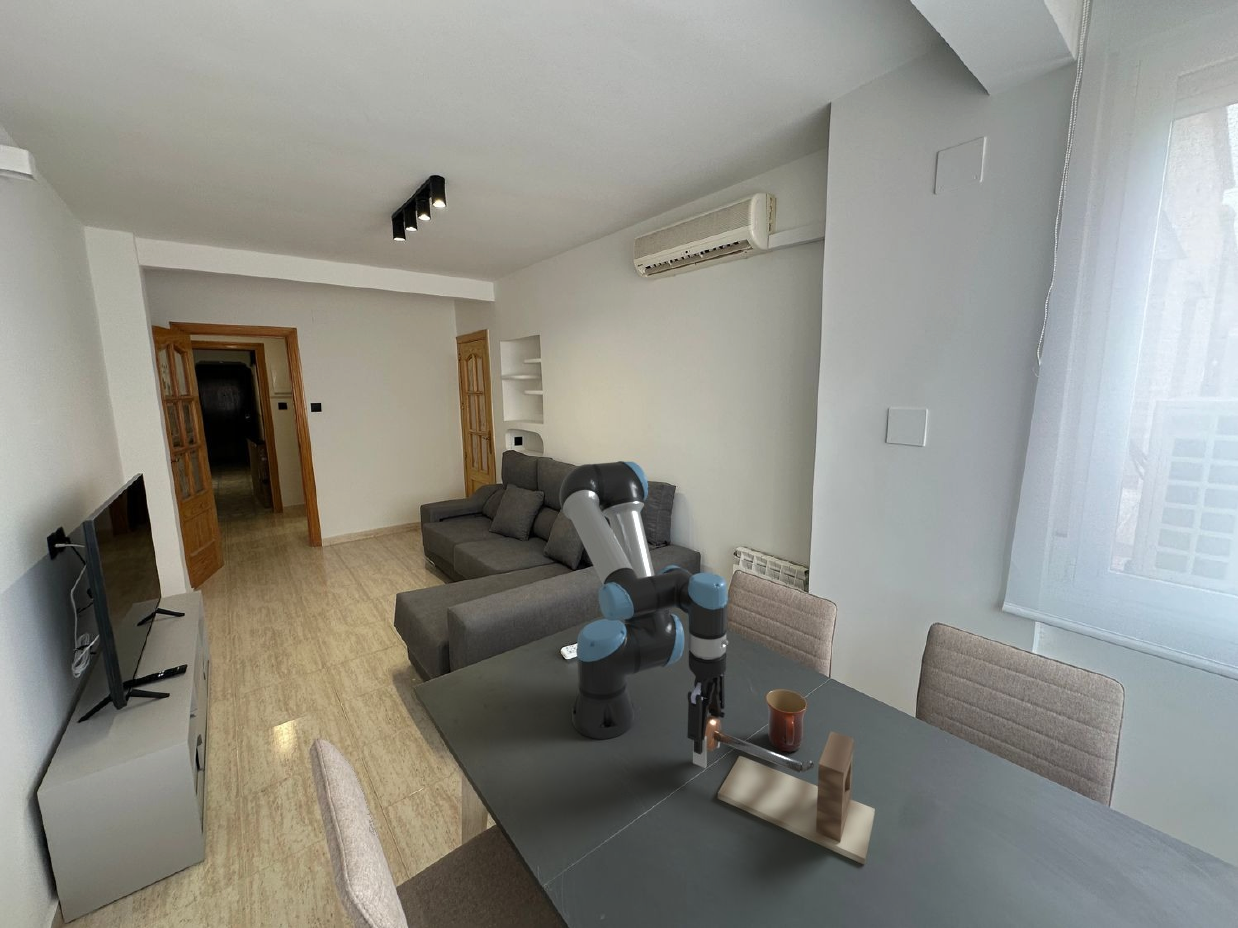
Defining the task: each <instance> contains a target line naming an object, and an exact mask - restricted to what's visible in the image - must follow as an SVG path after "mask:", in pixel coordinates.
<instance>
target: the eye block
mask: <svg viewBox="0 0 1238 928" xmlns="http://www.w3.org/2000/svg"><path fill="white" fill-rule="evenodd" d="M854 741H855V739H854V737H850V736H847V735H844V734H840V733H837V732H835V731H832V730H831V731H830V733H829V736H828V737H827V741H826V743H825V746H824V749H823V751H822V754H821V756H820V760H819V761H818V773H817V774H818V775H817V776H818V777H817V786H818V794H817V818H816V832H817V833H819V834H822V835H824V836H826V837H828V838H831V839H833V840H835V841H837V842H841V838H842V834H843V830H844V826H845V823H846V819H847V815H848V811H849V807H850V803H851V800H852V783H853V782H852V779H853V765H854V764H853V762H854V761H853V760H854V743H855V742H854Z"/></svg>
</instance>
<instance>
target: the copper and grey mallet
mask: <svg viewBox="0 0 1238 928" xmlns="http://www.w3.org/2000/svg"><path fill="white" fill-rule="evenodd" d="M705 736H707V751H711V752H715V750H716V749H717V748H716V747H717V745H718V743H719V742H720V744H724V745H727V746H729V747H731V748H734V749H737V750H740V751H742V752H745V753H747V754H749V755H751V756H755V757H757V758H760V759H762V760H765V761H767V762H771V763H772V764H776V765H778V766H781V767H783V768H785V769H788V770H791V771H794V772H796V773H798V774H801V773H805V772H808V771H810V770H811V769H813V768H814V765H815V764H814V762H813V760H811V759H807V760H806V761H803V762H801V761H798V760H797V759H793V758H791V757H789V756H788V757H787V756H786V755H785V756H784V755H782V754H780V753H777V752H774V751H772V750H769V749H766V748H763V747H761V746H759V745H756V744H753V743H751V742H747V741H745V740H743V739H739V738H738V737H734V736H732V735H729V734H727V733H724V732H722V722H721V719H720V720H718V719H716V718H713V717H710V716H707V723H706V731H705ZM691 742H692V743H693V740H691Z"/></svg>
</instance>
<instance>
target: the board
mask: <svg viewBox="0 0 1238 928" xmlns="http://www.w3.org/2000/svg"><path fill="white" fill-rule="evenodd" d="M817 794H818V785H815V784H812V783H810V782H808V781H806V780H803V779H800V778H797V777H795V776H792V775H790V774H787V773H785V772H782V771H779V770H777V769H775V768H772V767H770V766H768V765H765V764H762V763H759V762H757V761H754V760H752V759H750V758H747V757H744V756H742V755H739V756H738V758H737V760H736V762H735V763H734V764H733V766H732V768H731V770H730V771H729V773H728V775H727V777H726V779H725V780H724V782H723V783H722V785H721V787H720V789H718V792H717V799H718V800H720V801H723V802H725V803H728V804H729V805H731V806H734V807H736V808H737V809H740V810H743V811H745V812H747V813H749V814H751V815H753V816H756V817H758V818H760V819H762V820H765V821H767V822H769V823H771V824H774V825H776V826H777V827H780V828H782V829H784V830H787V831H788V832H791V833H792V834H795V835H798V836H800V837H802V838H804V839H807V840H808V841H811V842H813V843H815V844H818V845H819V846H822V847H824V848H826V849H829V851H833V852H835V853H836V854H837V853H838V854H840V855H842V856H843V857H846V858H848V859H850V860H853V861H855V862H857V863H859V864H861V865H864V866H865V864H866V859H867V854H868V849H869V843H870V839H871V835H872V829H873V824H874V819H875V810H876V809H875V808H873V807H871V806H868V805H867V804H863V803H861V802H858V801H856V800H853V799H851V803H850V807H849V811H848V815H847V819H846V823H845V826H844V830H843V834H842V838H841V842H837V841H835V840H833V839H831V838H828V837H826V836H824V835H822V834H819V833H817V832H816V818H817Z"/></svg>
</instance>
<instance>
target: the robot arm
mask: <svg viewBox="0 0 1238 928" xmlns="http://www.w3.org/2000/svg"><path fill="white" fill-rule="evenodd" d="M648 484H649V483H648V479H647V476H646V474H645V471H644V470H643V468H642V467H641V466H640V465H639V464H638V463H636V462H634V461H622V460H620V461H615V462H614V461H613V462H603V463H602V462H600V463H589V464H581V465H578V466H577V467H575V468H573V469H572V470H570V472H569V473H568V474H567V475H566V476H565V477H564V479H563V481H562V483H561V485H560V490H559V494H558V495H559V503H560V507H561V510H562V513H563V514H564V516H565V517H566V518H567V519H568V520H571V522H572V524H573V526H574V527H575V530H576V532H577V534H578V537H579V539H580V540H581V542H582V544H583V547H584V549H585V551H586V553H587V555H588V557H589V560H590V562H591V563H592V565H593V568H594V570H595V571H596V574H597V576H598V578H599V580H600V583H601V584H602V585H601V586H600V588H599V589H598V590H599V591H598V604H599V606H600V611H601V613H602V616H603V617H604V618H601V619H598V620H595V621H592V622H589V623H588V624H586V625H585V626H583V627H582V629H581V630H580V631H579V633H578V636H577V644H576V650H575V651H576V656H577V658H576V659H577V682H578V683H577V684H578V691H577V693H576V696H575V699H574V704H573V706H572V709H571V721H572V725H573V727H574V729H575V730H576V731H577V732H578V733H579V734H581V735H583V736H585V737H588V738H592V739H598V740H600V739H601V740H602V739H603V740H605V739H611V738H616V737H619V736H620V735H623V734H625V733H626V732H628V731H629V730H630V729H631V727H632V726H633V724H634V722H635V707H634V704H633V702H632V699H631V697H630V694H629V693H630V692H629V690H628V688H627V677H629V676H632V675H636V674H639V673H642V672H646V671H651V670H655V669H658V668H665V667H667V666H668V665H673V664H675V663H677V662H678V661H679V660H680V659H681V658H682V655H683V653H684V650H685V632H684V628H683V624H682V622H681V621H680V618H679V616H677V615H676V614H673V613H670V610H672V609H676V608H677V609H680V610H681V611H682V612H684V613H685V614H687V615H688V669H689V670H690V672H691V673H693V675H694V677H695V678H694V681H693V682H694V683H693V687H694V689H693V691H689V690H688V692H687V703H688V705H687V707H688V708H687V713H688V714H687V736H686V737H687V739H690V740H691V741H692V740H693V742H692V763H693V764H694V765H697V766H700V767H702V768H704V769H706V767H707V762H708V761H707V760H708V759H707V758H708V749H707V736H705V731H706V723H707V716H710V717H713V718H716V719H718V720H720V721H721V718H722V719H724V718H725V712H723V711H722V710H724V709H725V707H726V706H725V703H726V702H725V700H726V699H725V674H726V673H725V672H726V669H727V652H726V651H727V645H729V640H727V628H728V627H727V623H728V622H727V620H728V619H727V618H728V601H729V597H728V592H727V591H728V589H727V581H726V580H725V579H724V577H723V576H721V575H719V574H714V573H712V572H699V573H695V574H692V572H690V571H688V570H687V569H685V568H682V567H680V566H678V565H673V564H672V565H667V566H665V567H664V568H663V569H661V570H659V572H658V574H655V570H654V567H653V562H652V558H651V554H650V550H649V545H648V544H649V543H648V540H647V537H646V532H645V527H644V523H643V519H642V515H641V511H642V510H643V507H645V504H644V502H645V501H646V499H647V498H648V494H649V490H648V488H649V485H648ZM606 518H607V519H606ZM607 520H609V523H608V521H607ZM621 620H624V622H622V621H621ZM720 744H721V742H719V743H718V745H717V747H716V749H719V748H720Z"/></svg>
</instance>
